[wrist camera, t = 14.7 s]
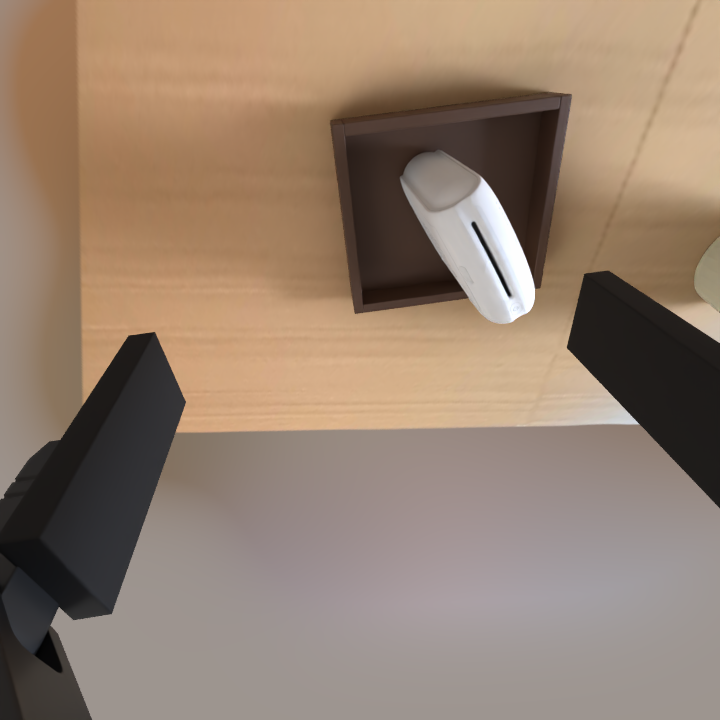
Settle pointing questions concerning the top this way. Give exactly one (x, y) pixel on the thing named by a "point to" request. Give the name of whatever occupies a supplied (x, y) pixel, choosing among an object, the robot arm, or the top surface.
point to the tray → (473, 149)
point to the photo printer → (470, 234)
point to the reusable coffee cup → (709, 275)
